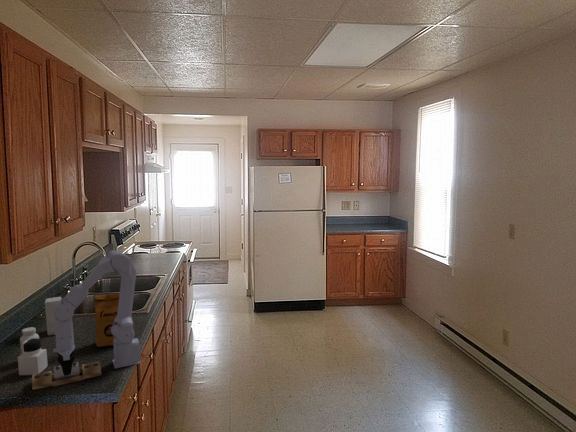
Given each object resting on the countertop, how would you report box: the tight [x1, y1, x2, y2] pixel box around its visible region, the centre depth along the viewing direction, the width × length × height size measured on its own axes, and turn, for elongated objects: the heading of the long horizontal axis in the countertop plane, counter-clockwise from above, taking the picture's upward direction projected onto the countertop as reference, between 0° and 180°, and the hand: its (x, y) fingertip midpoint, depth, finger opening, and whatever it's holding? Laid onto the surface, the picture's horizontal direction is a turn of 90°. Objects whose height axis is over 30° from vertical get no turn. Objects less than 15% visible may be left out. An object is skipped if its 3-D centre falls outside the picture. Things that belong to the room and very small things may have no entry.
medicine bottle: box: [17, 338, 49, 376], centre depth 167 cm, size 7×7×12 cm
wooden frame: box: [31, 360, 102, 391], centre depth 161 cm, size 22×7×3 cm, turn 118°
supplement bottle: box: [19, 326, 40, 355], centre depth 176 cm, size 7×7×13 cm
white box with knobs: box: [53, 361, 81, 381], centre depth 161 cm, size 8×4×6 cm, turn 118°
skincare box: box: [44, 296, 62, 336], centre depth 206 cm, size 8×7×16 cm
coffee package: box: [93, 292, 120, 348], centre depth 191 cm, size 10×12×22 cm
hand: (67, 371), depth 161 cm, fingers open, 4 cm apart
